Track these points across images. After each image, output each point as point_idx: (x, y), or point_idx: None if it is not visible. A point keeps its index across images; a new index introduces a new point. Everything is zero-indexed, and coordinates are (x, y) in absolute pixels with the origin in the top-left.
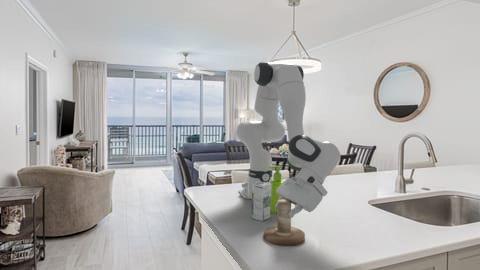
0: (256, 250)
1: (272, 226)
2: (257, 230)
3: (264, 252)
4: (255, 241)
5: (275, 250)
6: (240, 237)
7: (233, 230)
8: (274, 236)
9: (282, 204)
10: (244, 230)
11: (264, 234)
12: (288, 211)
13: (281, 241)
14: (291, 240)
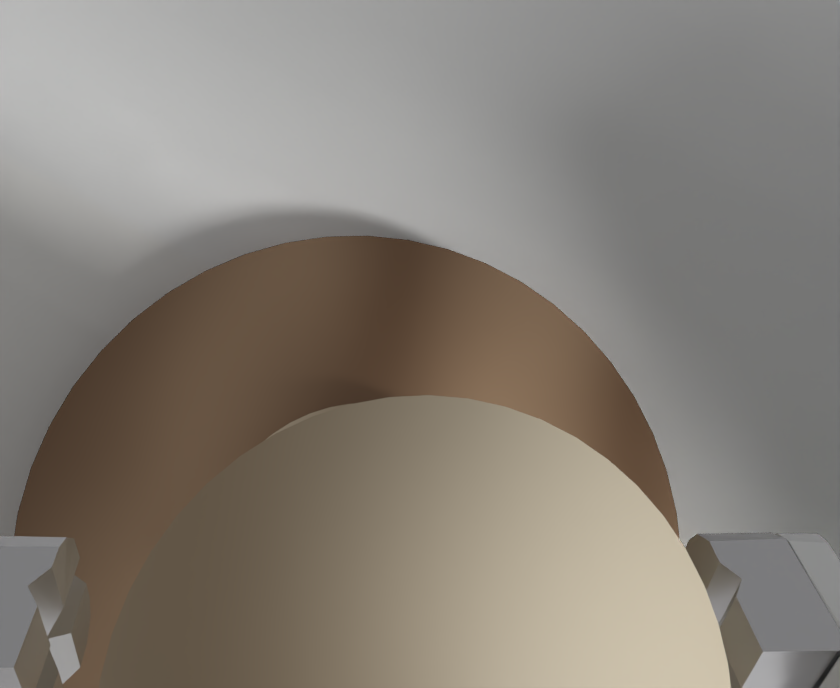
0: (133, 9)
1: (672, 516)
2: (714, 311)
3: (37, 67)
4: (382, 118)
5: (23, 218)
6: (566, 7)
7: (805, 24)
8: (295, 344)
9: (223, 481)
10: (765, 150)
11: (419, 243)
12: (24, 594)
13: (98, 355)
14: (46, 513)
